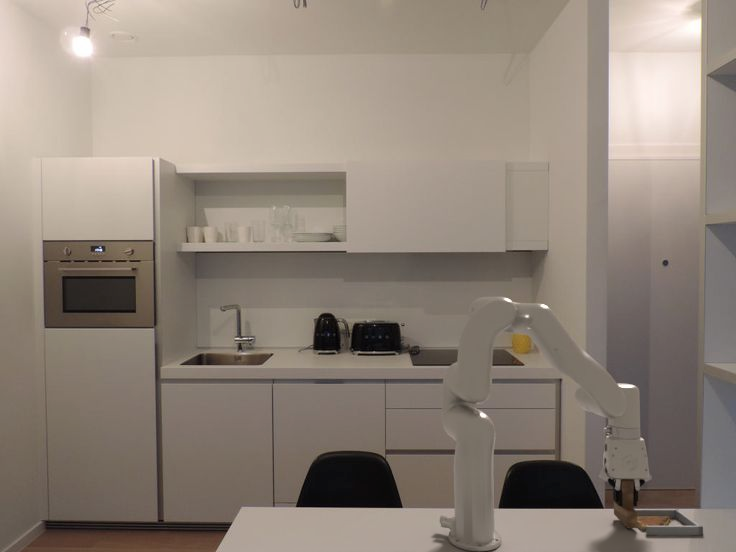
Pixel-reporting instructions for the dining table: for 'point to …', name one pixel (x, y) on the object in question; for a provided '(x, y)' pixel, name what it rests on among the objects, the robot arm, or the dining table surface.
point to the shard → (652, 521)
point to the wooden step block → (626, 505)
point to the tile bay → (689, 529)
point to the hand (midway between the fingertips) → (625, 503)
